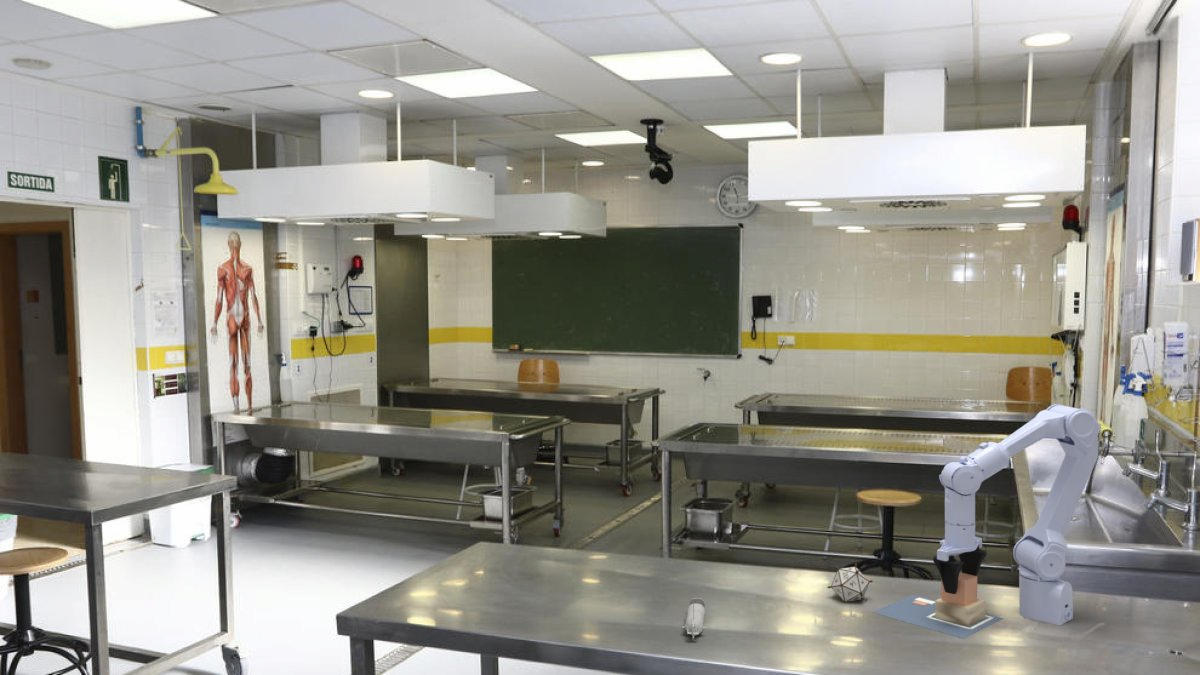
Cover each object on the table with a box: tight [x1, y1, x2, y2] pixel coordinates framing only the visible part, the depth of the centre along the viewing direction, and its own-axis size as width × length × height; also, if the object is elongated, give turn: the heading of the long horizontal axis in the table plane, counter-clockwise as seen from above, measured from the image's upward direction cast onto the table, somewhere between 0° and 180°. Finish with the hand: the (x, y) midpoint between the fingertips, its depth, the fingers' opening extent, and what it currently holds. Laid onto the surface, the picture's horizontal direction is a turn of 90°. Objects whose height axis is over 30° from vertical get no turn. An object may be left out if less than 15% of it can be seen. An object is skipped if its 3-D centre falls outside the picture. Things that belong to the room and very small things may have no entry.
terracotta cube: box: [940, 572, 978, 606], centre depth 184 cm, size 5×5×5 cm
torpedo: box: [681, 597, 707, 639], centre depth 185 cm, size 18×5×6 cm, turn 171°
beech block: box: [934, 597, 986, 626], centre depth 184 cm, size 7×7×4 cm
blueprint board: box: [871, 594, 1004, 639], centre depth 186 cm, size 20×16×1 cm
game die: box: [826, 563, 874, 603], centre depth 197 cm, size 9×8×10 cm
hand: (960, 588), depth 184 cm, fingers open, 7 cm apart
